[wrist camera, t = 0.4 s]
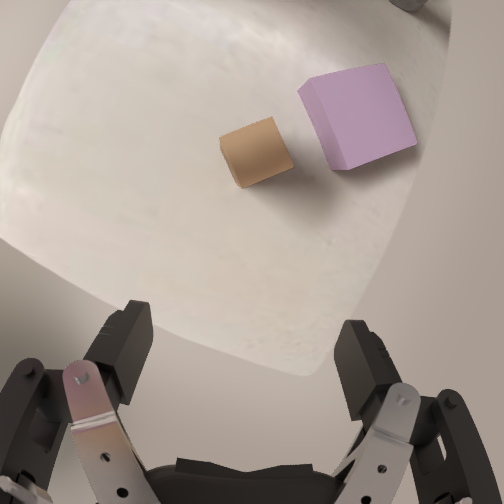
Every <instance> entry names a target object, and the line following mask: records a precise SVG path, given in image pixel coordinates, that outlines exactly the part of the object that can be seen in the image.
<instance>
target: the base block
mask: <svg viewBox="0 0 504 504" xmlns="http://www.w3.org/2000/svg"><path fill="white" fill-rule="evenodd" d="M298 94H299V96H300V98H301V100H302V102H303V104H304V106H305V108H306V111H307V113H308V115H309V117H310V120H311V122H312V124H313V126H314V129H315V131H316V134H317V136H318V138H319V141H320V143H321V146H322V148H323V150H324V153H325V156H326V158H327V161H328V163H329V166H330V168H331V170H350V169H352V168H355V167H357V166H360V165H363V164H365V163H368V162H370V161H373V160H376V159H378V158H381V157H383V156H386V155H389V154H391V153H394V152H397V151H400V150H402V149H405V148H408V147H411V146H413V145H416V144H417V141H416V137H415V134H414V131H413V129H412V126H411V123H410V120H409V117H408V115H407V112H406V109H405V107H404V104H403V102H402V99H401V97H400V95H399V92H398V90H397V87H396V85H395V83H394V81H393V79H392V76H391V74H390V72H389V70H388V68H387V66H386V64H385V63H382V64H375V65H369V66H363V67H358V68H353V69H348V70H343V71H338V72H334V73H329V74H325V75H321V76H317V77H313V78H310V79H309V80H308V81H307V82H306V83H305V84H304V85H303V86H302V87H301V88H300V89H299V90H298Z"/></svg>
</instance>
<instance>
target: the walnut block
mask: <svg viewBox="0 0 504 504" xmlns="http://www.w3.org/2000/svg"><path fill="white" fill-rule="evenodd" d="M219 139H220V148H221V151H222V153H223V156H224V158H225V160H226V162H227V164H228V167H229V169H230V171H231V173H232V176H233V178H234V180H235V182H236V184H237V185H238V186H240V187H241V188H242V189H243V188H246V187H248V186H250V185H253V184H255V183H257V182H260V181H262V180H264V179H267V178H269V177H271V176H274V175H276V174H279V173H281V172H283V171H286V170H288V169H291V168H293V167H294V165H293V163H292V161H291V158H290V156H289V153H288V151H287V149H286V146H285V144H284V142H283V140H282V137H281V135H280V133H279V131H278V128H277V126H276V124H275V122H274V119H273V117H269V118H267V119H264V120H261V121H259V122H256V123H253V124H251V125H248V126H246V127H243V128H241V129H238V130H236V131H233V132H231V133H229V134H226V135H224V136H222V137H219Z"/></svg>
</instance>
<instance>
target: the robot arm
mask: <svg viewBox="0 0 504 504" xmlns="http://www.w3.org/2000/svg"><path fill="white" fill-rule="evenodd" d="M152 342H153V326H152V319H151V311H150V305H149V303H148V302H142V301H136V300H130V301H129V302H128V304H127V306H126V307H125V309H124V311H121V310H117V311H116V312H115V313H113V314H112V315H110V316H109V317H108V319H107V320H106V322H105V324H104V326H103V327H102V328H101V330H100V332H99V334H98V335H97V336H96V338H95V340H94V341H93V343H92V345H91V346H90V348H89V350H88V352H87V353H86V355H85V357H84V358H83V360H77V361H74V362H72V363H70V364H69V365H68V366H67V367H66V368H65V369H64V370H50V369H45V368H44V366H43V364H42V363H41V362H40V361H39V360H38V359H35V358H27V359H24V360H22V361H21V362H19V363H18V364H17V365H16V367H15V368H14V370H13V372H12V373H11V375H10V377H9V379H8V380H7V382H6V384H5V385H4V387H3V389H2V391H1V393H0V504H53V501H52V499H51V497H50V495H49V494H48V493H47V489H48V485H49V481H50V478H51V474H52V471H53V467H54V464H55V461H56V457H57V454H58V451H59V448H60V445H61V442H62V439H63V436H64V433H65V431H66V428H67V425H68V423H73V425H71V433H72V436H73V440H74V443H75V446H76V449H77V451H78V455H79V458H80V460H81V463H82V465H83V468H84V471H85V473H86V476H87V478H88V481H89V483H90V485H91V487H92V490H93V492H94V494H95V496H96V499H97V501H98V503H96V504H391V503H392V501H393V498H394V496H395V494H396V492H397V489H398V487H399V485H400V483H401V480H402V477H403V475H404V473H405V470H406V467H407V465H408V462H409V461H410V465H411V469H412V473H413V477H414V481H415V486H416V490H417V495H418V500H419V504H502V500H501V497H500V493H499V489H498V486H497V482H496V479H495V476H494V473H493V470H492V467H491V464H490V461H489V458H488V456H487V453H486V450H485V448H484V445H483V443H482V440H481V438H480V436H479V433H478V431H477V428H476V426H475V424H474V421H473V419H472V417H471V415H470V413H469V410H468V408H467V406H466V404H465V402H464V400H463V398H462V397H461V395H460V394H459V393H458V392H456V391H454V390H451V389H445V390H442V391H441V392H440V393H439V394H438V396H437V397H436V398H434V397H426V396H420V395H419V393H418V391H417V390H416V389H415V388H414V387H413V386H411V385H409V384H406V383H403V382H402V380H401V378H400V376H399V374H398V372H397V370H396V368H395V366H394V364H393V361H392V359H391V358H390V357H389V353H388V351H387V350H386V347H385V345H384V343H383V341H382V340H381V339H380V338H379V337H378V336H377V335H376V334H375V333H374V332H370V331H369V329H368V327H367V325H366V323H365V322H364V320H346V321H345V322H344V324H343V327H342V329H341V332H340V335H339V337H338V340H337V342H336V345H335V348H334V360H335V364H336V367H337V371H338V374H339V377H340V381H341V384H342V388H343V391H344V395H345V398H346V402H347V405H348V409H349V413H350V417H351V420H352V421H356V420H362V422H363V425H362V426H361V428H360V430H359V432H358V433H357V435H356V437H355V439H354V441H353V443H352V444H351V446H350V448H349V450H348V451H347V453H346V455H345V457H344V458H343V460H342V462H341V463H340V464H339V466H338V467H337V468H336V469H335V471H334V472H333V473H332V475H331V476H330V475H327V474H324V473H321V472H317V471H313V467H312V464H301V465H280V466H276V467H271V468H267V469H262V470H257V471H252V472H241V471H238V470H234V469H230V468H227V467H224V466H220V465H217V464H214V463H211V462H203V461H195V460H189V459H182V458H177V462H176V465H166V466H161V467H157V468H154V469H151V470H149V471H147V470H146V468H145V466H144V465H143V463H142V461H141V459H140V457H139V456H138V454H137V452H136V451H135V448H134V447H133V445H132V443H131V441H130V438H129V436H128V434H127V432H126V430H125V428H124V426H123V423H122V421H121V419H120V417H119V415H118V412H117V410H118V407H119V404H120V403H121V404H125V405H129V404H130V401H131V398H132V395H133V393H134V390H135V387H136V384H137V382H138V379H139V376H140V374H141V371H142V369H143V366H144V363H145V361H146V358H147V356H148V353H149V350H150V348H151V345H152ZM440 435H441V438H442V441H443V444H444V447H445V449H446V459H445V461H444V458H443V455H442V451H441V448H440V445H439V442H438V439H437V438H438V437H439V436H440Z"/></svg>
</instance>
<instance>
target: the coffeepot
mask: <svg viewBox="0 0 504 504" xmlns="http://www.w3.org/2000/svg"><path fill="white" fill-rule="evenodd" d="M390 1H391V2H392V3H393V4H394V5H396V6H397V7H399V8H401V9H403V10H405V11H409V12H413V11H418V10H419V9H420V8H421V7H422V6H423V5H424V4H425V2H426V1H427V0H390Z"/></svg>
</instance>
